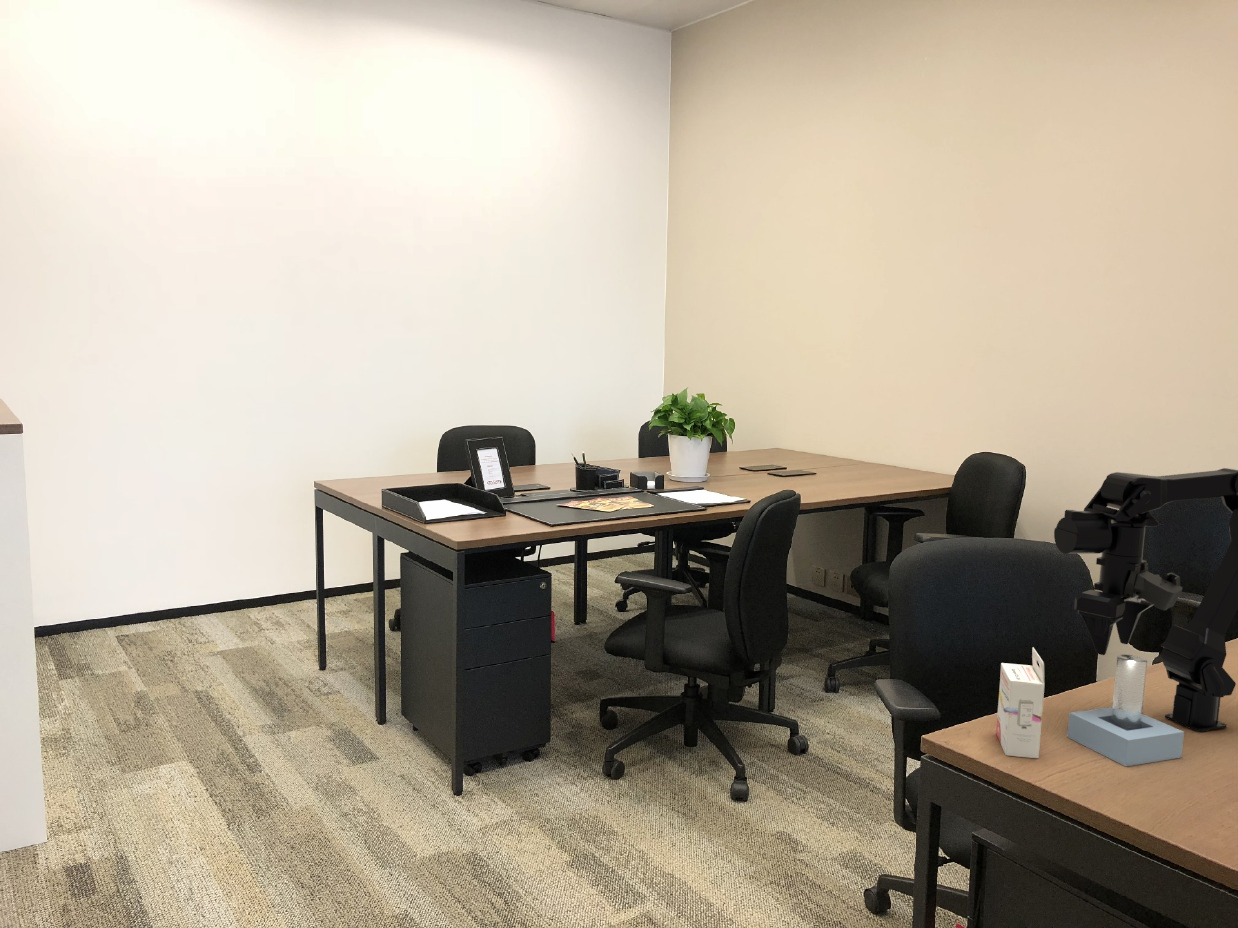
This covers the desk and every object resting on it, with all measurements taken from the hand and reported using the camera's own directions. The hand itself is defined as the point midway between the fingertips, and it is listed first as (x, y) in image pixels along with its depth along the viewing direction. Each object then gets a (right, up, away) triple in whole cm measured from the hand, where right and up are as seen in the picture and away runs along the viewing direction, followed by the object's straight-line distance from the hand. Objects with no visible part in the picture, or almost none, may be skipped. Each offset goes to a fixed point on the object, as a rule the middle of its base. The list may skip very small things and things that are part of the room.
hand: (1113, 648), depth 153 cm
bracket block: (-2, -14, -6) cm, 15 cm away
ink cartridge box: (-18, -14, -7) cm, 24 cm away
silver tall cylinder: (-2, -14, -6) cm, 15 cm away
